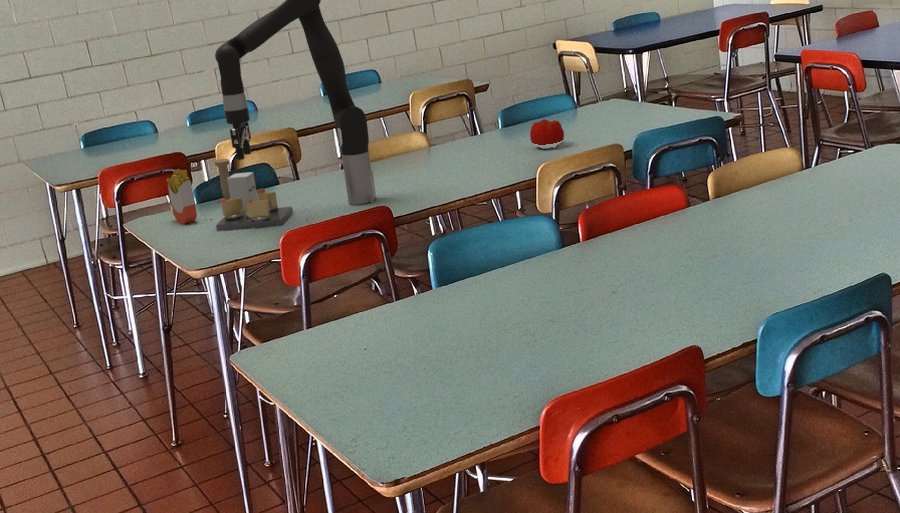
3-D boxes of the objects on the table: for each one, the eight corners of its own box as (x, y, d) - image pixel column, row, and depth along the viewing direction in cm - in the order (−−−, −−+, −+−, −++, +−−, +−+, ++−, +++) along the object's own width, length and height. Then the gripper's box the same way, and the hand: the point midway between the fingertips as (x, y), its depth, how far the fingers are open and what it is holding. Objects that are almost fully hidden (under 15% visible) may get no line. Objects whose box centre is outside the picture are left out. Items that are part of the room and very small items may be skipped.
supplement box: (252, 212, 362) (246, 176, 359) (232, 213, 364) (226, 178, 360) (259, 206, 369) (253, 171, 366) (240, 207, 371) (234, 173, 367)
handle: (225, 203, 380) (217, 163, 376) (220, 200, 386) (212, 160, 381) (237, 200, 382) (230, 160, 378) (232, 197, 388) (225, 158, 383)
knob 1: (240, 213, 353) (237, 193, 351) (246, 216, 348) (242, 196, 346) (222, 217, 350) (218, 198, 348) (227, 220, 345) (223, 200, 343)
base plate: (292, 212, 355) (291, 200, 354) (282, 225, 340) (280, 213, 339) (230, 218, 357) (228, 206, 356) (216, 231, 342) (214, 219, 341)
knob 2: (282, 207, 354) (278, 188, 352) (268, 212, 349) (265, 192, 347) (269, 206, 358) (266, 187, 356) (256, 211, 353) (252, 191, 351)
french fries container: (186, 225, 355) (176, 173, 349) (173, 220, 363) (163, 170, 358) (198, 222, 357) (188, 170, 352) (185, 217, 366) (175, 167, 360)
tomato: (566, 149, 403) (564, 122, 400) (532, 152, 404) (530, 126, 401) (563, 142, 416) (561, 116, 413) (530, 146, 417) (527, 120, 414)
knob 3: (272, 215, 344) (268, 195, 343) (267, 220, 339) (264, 200, 337) (253, 217, 345) (249, 197, 343) (248, 222, 339) (244, 202, 337)
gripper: (241, 110, 330) (250, 160, 335) (252, 103, 344) (260, 151, 349) (218, 112, 331) (227, 162, 336) (230, 105, 345) (239, 153, 349)
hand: (244, 156), depth 342 cm, fingers open, 8 cm apart
